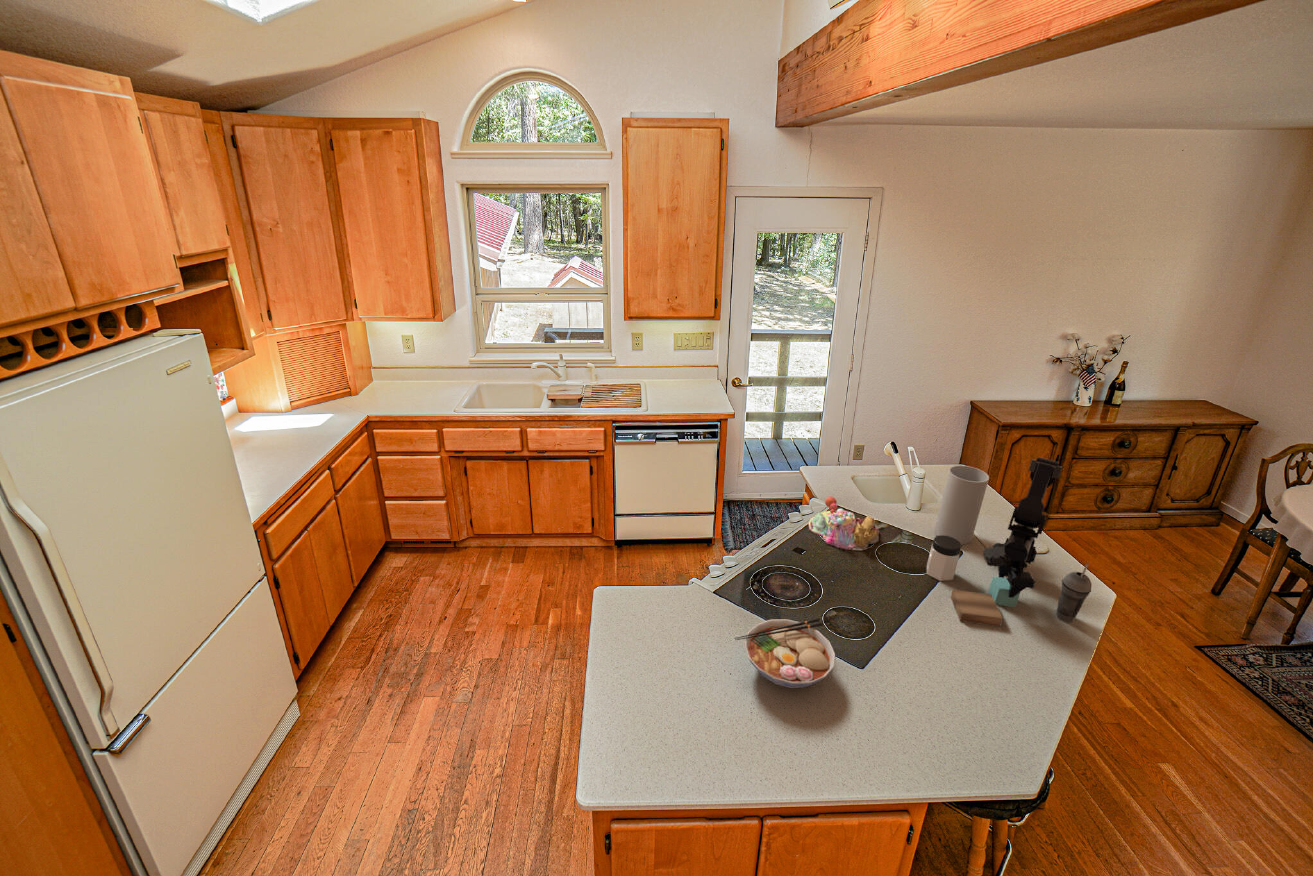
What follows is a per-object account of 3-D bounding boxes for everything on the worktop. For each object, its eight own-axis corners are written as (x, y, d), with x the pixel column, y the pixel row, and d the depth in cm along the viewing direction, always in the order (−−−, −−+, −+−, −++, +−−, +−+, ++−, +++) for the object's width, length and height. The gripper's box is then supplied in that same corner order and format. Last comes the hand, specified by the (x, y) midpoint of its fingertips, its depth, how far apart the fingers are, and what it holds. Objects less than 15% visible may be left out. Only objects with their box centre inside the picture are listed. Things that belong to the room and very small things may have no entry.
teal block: (988, 592, 196) (993, 576, 194) (1008, 594, 196) (1013, 579, 193) (994, 604, 191) (999, 588, 189) (1015, 607, 190) (1020, 591, 188)
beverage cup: (1071, 610, 189) (1092, 554, 181) (1083, 626, 183) (1106, 570, 175) (1046, 608, 190) (1065, 552, 182) (1057, 624, 183) (1078, 567, 175)
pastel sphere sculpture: (886, 528, 229) (890, 506, 225) (868, 559, 211) (873, 536, 207) (819, 508, 241) (823, 487, 237) (797, 536, 223) (800, 513, 219)
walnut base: (950, 597, 193) (952, 589, 192) (988, 602, 192) (991, 594, 190) (960, 621, 183) (962, 613, 182) (1000, 626, 182) (1002, 618, 181)
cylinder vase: (926, 528, 229) (941, 467, 219) (954, 524, 233) (970, 463, 223) (950, 547, 218) (967, 484, 208) (979, 542, 222) (997, 479, 212)
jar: (925, 562, 210) (933, 532, 205) (952, 568, 207) (960, 537, 202) (926, 578, 202) (934, 546, 197) (953, 584, 200) (962, 552, 195)
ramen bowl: (759, 714, 150) (763, 689, 147) (725, 648, 170) (727, 624, 167) (852, 695, 157) (857, 670, 153) (808, 633, 177) (812, 610, 173)
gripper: (980, 524, 195) (969, 566, 201) (1000, 559, 178) (986, 603, 184) (1019, 528, 193) (1006, 570, 200) (1042, 564, 176) (1027, 608, 183)
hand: (1005, 587), depth 192 cm, fingers open, 9 cm apart
